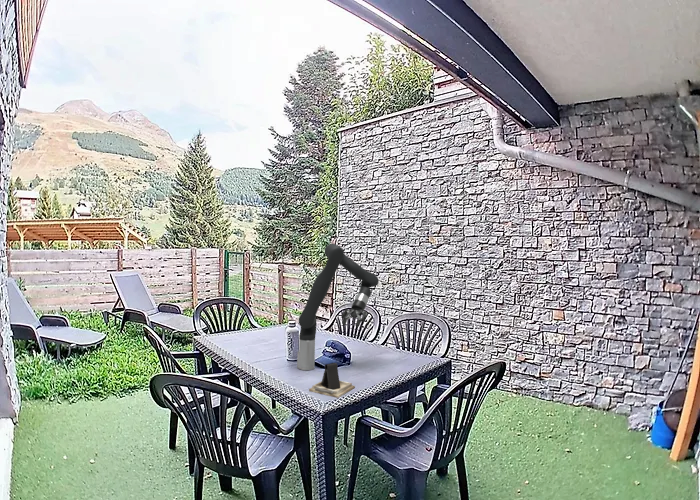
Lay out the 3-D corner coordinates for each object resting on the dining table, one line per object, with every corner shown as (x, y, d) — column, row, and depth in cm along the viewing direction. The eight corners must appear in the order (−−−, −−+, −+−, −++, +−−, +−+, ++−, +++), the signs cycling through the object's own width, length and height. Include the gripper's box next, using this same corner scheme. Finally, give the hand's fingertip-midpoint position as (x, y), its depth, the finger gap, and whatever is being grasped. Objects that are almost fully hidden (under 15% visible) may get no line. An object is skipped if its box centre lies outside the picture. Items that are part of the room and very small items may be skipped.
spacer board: (308, 391, 227) (309, 386, 227) (326, 381, 242) (327, 377, 242) (338, 397, 219) (338, 392, 219) (354, 387, 233) (355, 383, 233)
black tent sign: (340, 388, 229) (341, 365, 228) (330, 390, 226) (331, 366, 225) (330, 383, 236) (331, 360, 236) (321, 385, 233) (321, 362, 232)
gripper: (347, 297, 266) (336, 320, 257) (369, 300, 259) (358, 323, 250) (352, 305, 271) (341, 327, 262) (373, 308, 264) (363, 331, 255)
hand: (349, 325), depth 256 cm, fingers open, 8 cm apart
